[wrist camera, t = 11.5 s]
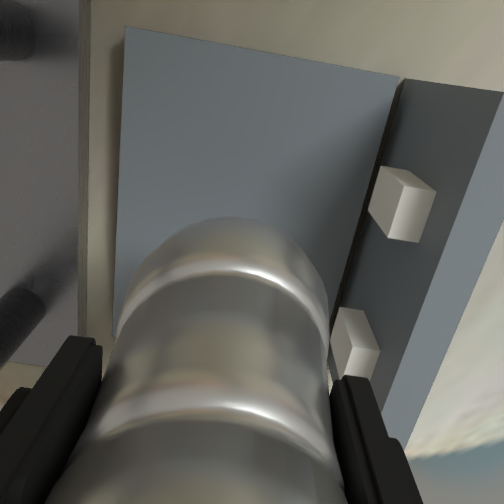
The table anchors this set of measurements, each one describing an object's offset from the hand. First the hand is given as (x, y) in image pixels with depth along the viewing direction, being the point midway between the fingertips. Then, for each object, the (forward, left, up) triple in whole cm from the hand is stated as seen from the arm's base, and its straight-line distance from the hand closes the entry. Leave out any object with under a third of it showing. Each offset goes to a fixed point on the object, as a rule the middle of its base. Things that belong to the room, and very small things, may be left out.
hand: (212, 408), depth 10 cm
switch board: (0, +1, -14) cm, 14 cm away
